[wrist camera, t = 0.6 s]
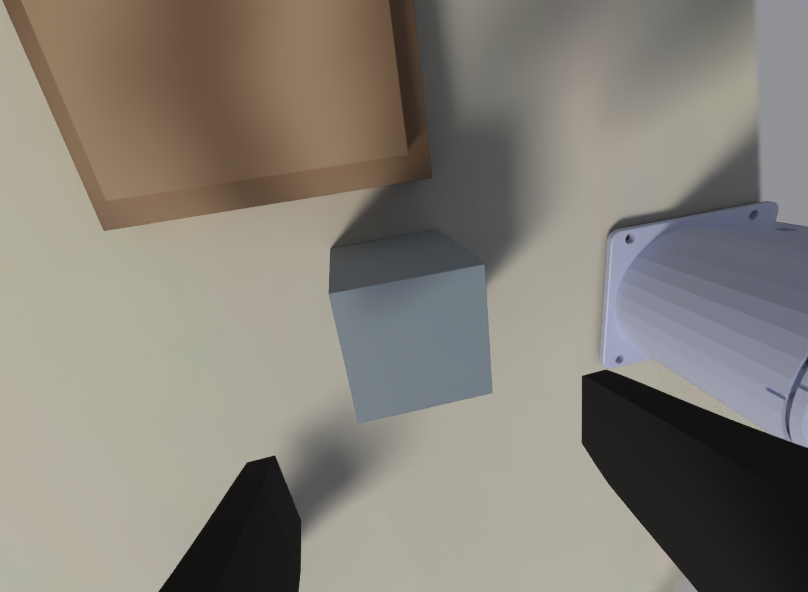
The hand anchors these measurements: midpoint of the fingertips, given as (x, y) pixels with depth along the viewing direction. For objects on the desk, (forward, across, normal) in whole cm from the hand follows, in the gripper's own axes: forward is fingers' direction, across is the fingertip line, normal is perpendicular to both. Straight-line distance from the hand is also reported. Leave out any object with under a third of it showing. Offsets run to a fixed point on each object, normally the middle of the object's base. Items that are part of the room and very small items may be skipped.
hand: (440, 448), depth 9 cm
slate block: (+10, 0, 0) cm, 10 cm away
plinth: (+10, +3, -11) cm, 16 cm away
